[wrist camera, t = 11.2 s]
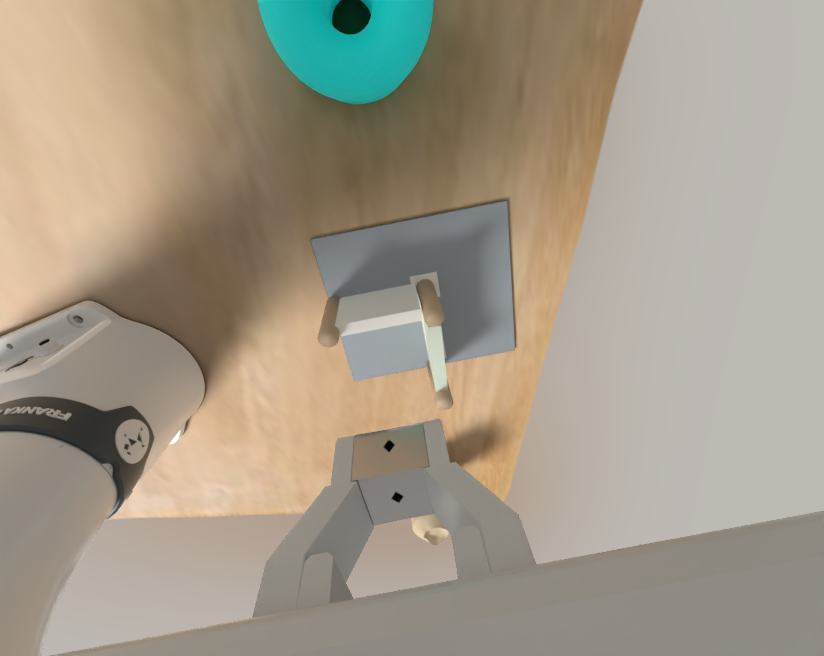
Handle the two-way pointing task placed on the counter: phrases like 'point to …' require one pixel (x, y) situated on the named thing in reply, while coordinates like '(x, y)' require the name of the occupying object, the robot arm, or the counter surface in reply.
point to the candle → (429, 529)
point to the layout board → (437, 261)
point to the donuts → (349, 45)
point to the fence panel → (437, 367)
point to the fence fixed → (379, 311)
